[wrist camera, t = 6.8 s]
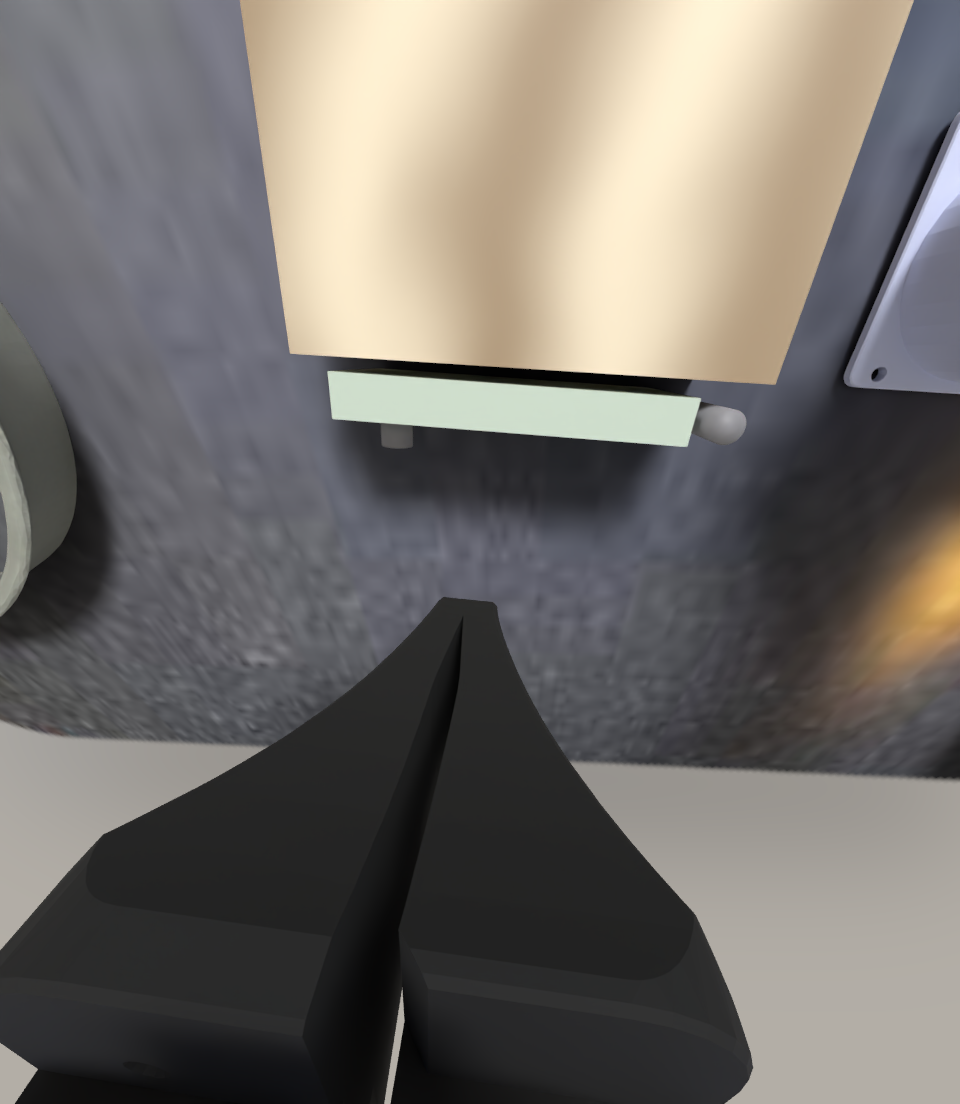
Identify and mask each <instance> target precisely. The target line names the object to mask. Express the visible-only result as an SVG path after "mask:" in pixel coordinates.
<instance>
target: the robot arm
mask: <svg viewBox="0 0 960 1104" xmlns="http://www.w3.org/2000/svg"><path fill="white" fill-rule="evenodd" d="M877 368H878V370H879V371H878V375H877V376H876V378H875V379H873V380H872V379H871V375H872V373H873V371H874V370H875V369H877ZM844 383H845V384H846V385H847V386H850V387H857V388H873V389H888V390H904V391H920V392H935V393H951V394H960V112H959V113H958V114H957V115H956V117H955V118H954V120H953V122H952V123H951V125H950V128H949V130H948V132H947V135H946V137H945V139H944V142H943V144H942V146H941V149H940V151H939V153H938V156H937V158H936V160H935V163H934V165H933V167H932V170H931V172H930V174H929V177H928V179H927V181H926V184H925V186H924V188H923V191H922V193H921V195H920V198H919V200H918V202H917V205H916V207H915V209H914V212H913V214H912V216H911V219H910V221H909V223H908V226H907V228H906V230H905V233H904V235H903V237H902V240H901V242H900V244H899V247H898V249H897V251H896V254H895V256H894V259H893V261H892V263H891V266H890V268H889V270H888V273H887V275H886V277H885V280H884V282H883V284H882V287H881V289H880V291H879V294H878V296H877V298H876V301H875V303H874V305H873V308H872V310H871V312H870V315H869V317H868V319H867V322H866V324H865V326H864V329H863V331H862V333H861V336H860V338H859V340H858V343H857V345H856V347H855V350H854V352H853V354H852V357H851V359H850V361H849V364H848V366H847V368H846V371H845V374H844ZM402 988H403V1003H404V1018H405V1023H404V1028H403V1034H402V1040H401V1046H400V1051H399V1057H398V1063H397V1069H396V1075H395V1081H394V1087H393V1092H392V1098H391V1104H725V1103H726V1102H727V1101H728V1100H730V1099H731V1098H732V1097H734V1096H735V1095H736V1094H737V1093H739V1092H740V1091H741V1090H742V1088H743V1087H744V1086H745V1084H746V1083H747V1082H748V1080H749V1078H750V1075H751V1072H752V1069H753V1065H752V1058H751V1053H750V1050H749V1047H748V1044H747V1041H746V1037H745V1034H744V1031H743V1028H742V1025H741V1022H740V1019H739V1016H738V1013H737V1011H736V1008H735V1005H734V1002H733V1000H732V997H731V994H730V993H729V990H728V987H727V985H726V983H725V980H724V978H723V976H722V973H721V971H720V969H719V966H718V964H717V961H716V959H715V957H714V955H713V952H712V950H711V948H710V946H709V944H708V941H707V939H706V937H705V934H704V933H703V930H702V928H701V926H700V923H699V922H698V919H697V917H696V915H695V914H694V913H693V912H692V910H691V909H690V908H689V907H688V906H687V905H686V904H685V903H684V902H683V901H682V900H681V899H680V897H679V896H678V895H677V894H676V893H675V892H674V891H673V890H672V888H671V887H670V886H669V885H668V884H667V883H666V882H665V881H664V880H663V878H662V877H661V876H660V875H659V874H658V873H657V872H656V871H655V869H654V868H653V867H652V866H651V865H650V864H649V862H648V861H647V860H646V859H645V858H644V857H643V855H642V854H641V853H640V852H639V851H638V850H637V848H636V847H635V846H634V845H633V844H632V843H631V841H630V840H629V839H628V838H627V836H626V835H625V834H624V833H623V832H622V830H621V829H620V828H619V827H618V825H617V824H616V823H615V822H614V820H613V819H612V818H611V817H610V815H609V814H608V813H607V812H606V811H605V809H604V808H603V807H602V806H601V804H600V803H599V802H598V800H597V799H596V798H595V796H594V795H593V793H592V792H591V791H590V789H589V788H588V787H587V785H586V784H585V782H584V781H583V780H582V778H581V777H580V776H579V774H578V773H577V771H576V770H575V769H574V767H573V766H572V765H571V763H570V762H569V761H568V759H567V758H566V756H565V755H564V753H563V752H562V750H561V749H560V747H559V746H558V744H557V742H556V741H555V739H554V738H553V736H552V735H551V733H550V732H549V730H548V728H547V727H546V725H545V723H544V721H543V720H542V718H541V716H540V715H539V713H538V711H537V709H536V708H535V706H534V704H533V702H532V700H531V698H530V697H529V695H528V693H527V691H526V689H525V687H524V684H523V682H522V680H521V678H520V676H519V674H518V672H517V670H516V667H515V665H514V663H513V660H512V658H511V655H510V653H509V650H508V648H507V645H506V642H505V639H504V636H503V633H502V630H501V626H500V622H499V618H498V612H497V606H496V605H495V604H494V603H493V602H487V601H477V600H467V599H457V598H447V597H443V598H442V599H440V600H439V601H438V602H437V604H436V605H435V606H434V608H433V609H432V610H431V611H430V613H429V614H428V615H427V616H426V617H425V618H424V620H423V621H422V622H421V623H420V624H419V625H418V626H417V627H416V629H415V630H414V631H413V632H412V633H411V634H410V635H409V636H408V637H407V638H406V639H405V640H404V641H403V642H402V643H401V644H400V645H399V646H398V647H397V648H396V649H395V650H394V651H393V652H392V653H391V654H390V655H389V656H388V657H387V658H386V659H385V660H384V661H383V662H382V663H380V664H379V665H378V666H377V667H376V668H375V669H374V670H373V671H372V672H371V673H370V674H368V675H367V676H366V677H365V678H364V679H363V680H361V681H360V682H359V683H358V684H357V685H355V686H354V687H353V688H352V689H350V690H349V691H348V692H347V693H345V694H344V695H343V696H342V697H340V698H339V699H338V700H336V701H335V702H334V703H332V704H331V705H330V706H328V707H327V708H326V709H324V710H323V711H321V712H320V713H319V714H317V715H316V716H314V717H313V718H311V719H310V720H309V721H307V722H306V723H304V724H303V725H302V726H300V727H299V728H297V729H296V730H294V731H293V732H291V733H290V734H288V735H287V736H285V737H283V738H282V739H280V740H279V741H277V742H276V743H274V744H272V745H271V746H269V747H267V748H266V749H264V750H262V751H261V752H259V753H257V754H256V755H254V756H252V757H251V758H249V759H247V760H246V761H244V762H242V763H241V764H239V765H237V766H235V767H233V768H232V769H230V770H228V771H227V772H225V773H223V774H221V775H219V776H218V777H216V778H214V779H212V780H211V781H208V782H207V783H205V784H203V785H201V786H199V787H198V788H195V789H193V790H191V791H190V792H188V793H186V794H184V795H182V796H180V797H178V798H176V799H174V800H172V801H170V802H168V803H166V804H164V805H162V806H160V807H158V808H156V809H154V810H152V811H150V812H148V813H146V814H144V815H142V816H140V817H138V818H136V819H134V820H133V821H130V822H128V823H126V824H124V825H122V826H120V827H118V828H116V829H114V830H112V831H110V832H108V833H106V834H103V835H102V837H101V838H100V839H99V840H98V841H97V842H96V843H95V844H94V845H93V846H92V847H91V848H90V849H89V850H88V851H87V852H86V854H85V855H84V856H83V857H82V858H81V859H80V860H79V861H78V862H77V863H76V864H75V865H74V866H73V868H72V869H71V870H70V871H69V872H68V873H67V874H66V875H65V877H64V878H63V879H62V880H61V881H60V882H59V883H58V885H57V886H56V887H55V888H54V889H53V890H52V891H51V893H50V894H49V895H48V896H47V897H46V899H45V900H44V901H43V902H42V903H41V904H40V905H39V907H38V908H37V909H36V910H35V911H34V912H33V913H32V915H31V916H30V917H29V918H28V919H27V921H25V923H24V924H23V925H22V926H21V927H20V928H19V930H18V931H17V932H16V933H15V934H14V935H13V936H12V938H11V939H10V940H9V941H8V942H7V943H6V945H5V946H4V947H3V948H2V949H1V950H0V1043H1V1044H3V1045H4V1046H6V1047H7V1048H9V1049H10V1050H11V1051H13V1052H14V1053H16V1054H17V1055H19V1056H20V1057H22V1058H23V1059H24V1060H26V1061H27V1062H29V1063H30V1064H32V1065H33V1066H35V1067H36V1068H37V1069H38V1070H37V1072H36V1073H35V1075H34V1076H33V1078H32V1079H31V1081H30V1082H29V1084H28V1085H27V1086H26V1088H25V1089H24V1091H23V1092H22V1094H21V1095H20V1097H19V1098H18V1100H17V1101H16V1103H15V1104H384V1100H385V1094H386V1088H387V1081H388V1075H389V1069H390V1062H391V1056H392V1049H393V1043H394V1036H395V1030H396V1023H397V1016H398V1010H399V1004H400V997H401V991H402Z"/></svg>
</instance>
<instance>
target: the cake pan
mask: <svg viewBox="0 0 960 1104" xmlns="http://www.w3.org/2000/svg"><path fill="white" fill-rule="evenodd" d="M0 491H1V495H2V499H3V502H4V508H5V515H6V523H7V535H8V546H7V560H6V564H5V568H4V572H0V617H1V616H2V615H3V614H4V613H5V612H6V611H7V610H8V609H9V608H10V607H11V606H12V604H13V603H14V602H15V601H16V600H17V598H18V596H19V594H20V592H21V591H22V589H23V586H24V584H25V582H26V579H27V576H28V573H29V571H30V570H32V569H33V568H34V567H36V566H37V565H38V564H40V563H41V562H43V561H44V560H45V559H47V558H48V557H49V556H50V555H51V554H52V553H53V552H54V551H55V550H56V549H57V548H58V547H59V546H60V545H61V543H62V542H63V540H64V538H65V536H66V534H67V532H68V530H69V528H70V525H71V522H72V519H73V516H74V511H75V505H76V495H77V475H76V467H75V459H74V453H73V449H72V444H71V440H70V436H69V433H68V429H67V426H66V423H65V420H64V417H63V414H62V411H61V409H60V406H59V403H58V401H57V399H56V396H55V394H54V392H53V390H52V387H51V385H50V383H49V381H48V379H47V377H46V375H45V373H44V371H43V369H42V367H41V365H40V363H39V361H38V359H37V358H36V356H35V354H34V352H33V351H32V349H31V347H30V346H29V344H28V342H27V340H26V339H25V337H24V336H23V334H22V333H21V331H20V330H19V328H18V327H17V325H16V324H15V322H14V321H13V319H12V318H11V316H10V315H9V313H8V311H7V310H6V309H5V307H4V306H3V305H2V303H1V302H0Z"/></svg>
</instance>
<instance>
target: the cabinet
mask: <svg viewBox="0 0 960 1104" xmlns="http://www.w3.org/2000/svg"><path fill="white" fill-rule="evenodd" d="M913 1H914V0H240V4H241V11H242V18H243V25H244V32H245V39H246V46H247V53H248V60H249V68H250V75H251V82H252V89H253V96H254V103H255V110H256V117H257V124H258V131H259V138H260V145H261V152H262V159H263V166H264V173H265V180H266V187H267V194H268V201H269V208H270V216H271V223H272V230H273V237H274V244H275V251H276V258H277V265H278V272H279V279H280V286H281V293H282V300H283V307H284V314H285V321H286V328H287V335H288V342H289V349H290V354H305V355H321V356H336V357H352V358H368V359H383V360H399V361H414V362H430V363H446V364H461V365H477V366H492V367H508V368H524V369H539V370H555V371H570V372H586V373H602V374H617V375H633V376H648V377H664V378H680V379H695V380H711V381H726V382H742V383H758V384H773V385H775V384H776V381H777V378H778V375H779V373H780V370H781V367H782V364H783V362H784V359H785V356H786V353H787V350H788V348H789V345H790V342H791V339H792V337H793V334H794V331H795V328H796V326H797V323H798V320H799V317H800V314H801V312H802V309H803V306H804V303H805V301H806V298H807V295H808V292H809V289H810V287H811V284H812V281H813V278H814V276H815V273H816V270H817V267H818V265H819V262H820V259H821V256H822V253H823V251H824V248H825V245H826V242H827V240H828V237H829V234H830V231H831V228H832V226H833V223H834V220H835V217H836V215H837V212H838V209H839V206H840V204H841V201H842V198H843V195H844V192H845V190H846V187H847V184H848V181H849V179H850V176H851V173H852V170H853V167H854V165H855V162H856V159H857V156H858V154H859V151H860V148H861V145H862V143H863V140H864V137H865V134H866V131H867V129H868V126H869V123H870V120H871V118H872V115H873V112H874V109H875V106H876V104H877V101H878V98H879V95H880V93H881V90H882V87H883V84H884V82H885V79H886V76H887V73H888V70H889V68H890V65H891V62H892V59H893V57H894V54H895V51H896V48H897V45H898V43H899V40H900V37H901V34H902V32H903V29H904V26H905V23H906V21H907V18H908V15H909V12H910V9H911V7H912V4H913Z"/></svg>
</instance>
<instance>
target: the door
mask: <svg viewBox="0 0 960 1104" xmlns="http://www.w3.org/2000/svg"><path fill="white" fill-rule="evenodd" d="M328 381H329V391H330V401H331V411H332V419H339V420H351V421H364V422H377V423H381V442H382V446H384V447H387V448H397V449H402V448H410V447H412V446H413V425H415V426H427V427H440V428H453V429H465V430H478V431H491V432H503V433H516V434H529V435H541V436H554V437H567V438H579V439H592V440H605V441H617V442H630V443H643V444H655V445H668V446H681V447H687V445H688V442H689V438H690V435H691V433H692V434H695V435H697V436H699V437H702V438H704V439H707V440H709V441H711V442H714V443H716V444H719V445H728V444H731V443H733V442H735V441H736V440H738V439H739V438H740V437H741V436H742V434H743V433H744V431H745V428H746V418H745V416H744V414H743V413H742V412H740V411H738V410H735V409H731V408H726V407H722V406H717V405H713V404H709V403H704V402H700V401H701V398H696V397H691V396H687V395H682V394H677V393H672V392H667V391H663V390H658V389H653V388H646V387H632V386H618V385H605V384H591V383H577V382H563V381H549V380H535V379H522V378H508V377H494V376H480V375H466V374H452V373H439V372H425V371H411V370H397V369H383V368H374V369H357V370H340V371H328Z"/></svg>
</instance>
